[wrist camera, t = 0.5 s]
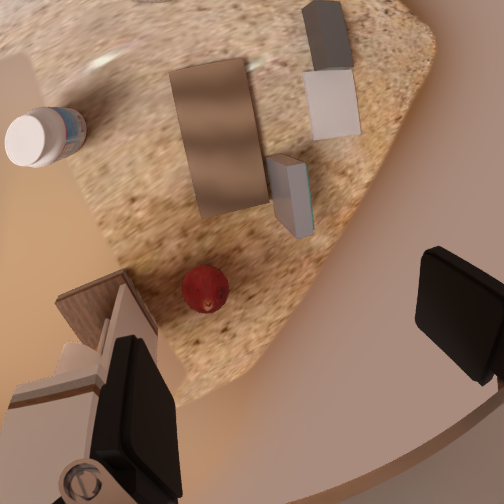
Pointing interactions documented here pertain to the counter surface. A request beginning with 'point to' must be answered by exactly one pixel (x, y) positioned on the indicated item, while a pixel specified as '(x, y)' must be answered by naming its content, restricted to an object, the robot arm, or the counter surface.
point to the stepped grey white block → (329, 73)
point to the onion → (205, 289)
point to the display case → (68, 390)
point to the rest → (220, 136)
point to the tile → (291, 194)
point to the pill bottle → (45, 136)
